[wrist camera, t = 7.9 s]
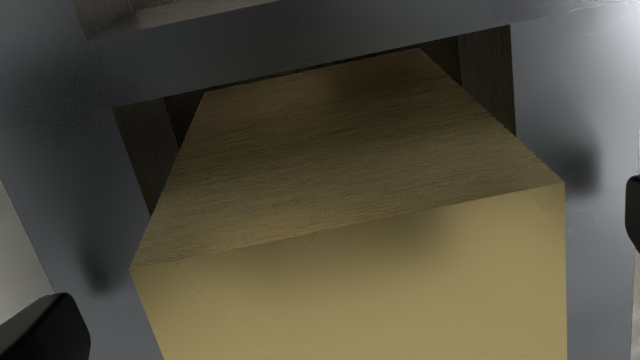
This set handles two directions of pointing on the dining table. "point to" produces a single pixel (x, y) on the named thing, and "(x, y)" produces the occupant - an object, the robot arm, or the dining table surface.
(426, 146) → the brass block
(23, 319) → the robot arm
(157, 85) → the grey slotted tray
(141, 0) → the dining table surface
